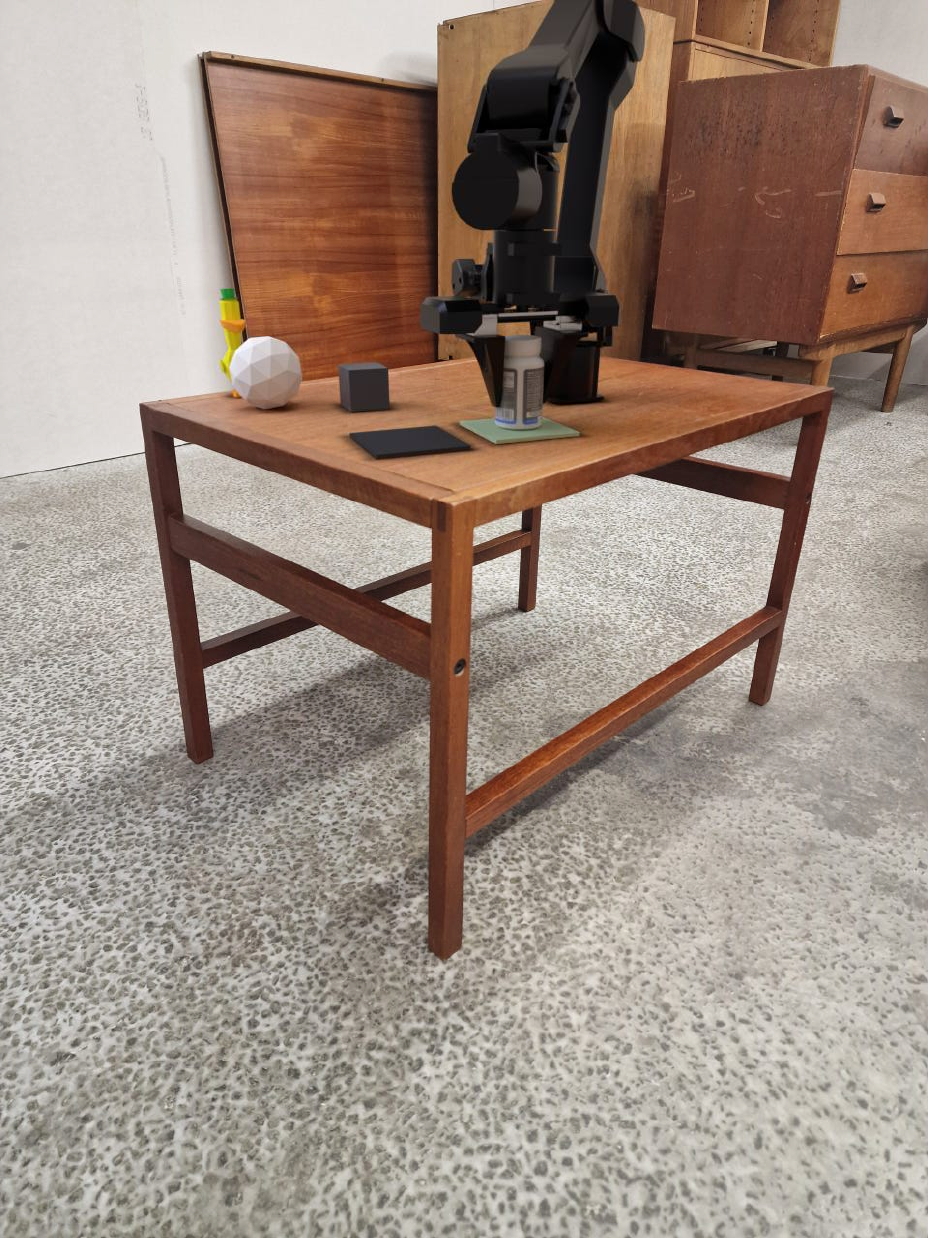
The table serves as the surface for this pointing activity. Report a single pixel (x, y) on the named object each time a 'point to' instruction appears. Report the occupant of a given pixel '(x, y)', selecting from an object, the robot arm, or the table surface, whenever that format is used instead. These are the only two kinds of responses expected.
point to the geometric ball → (265, 372)
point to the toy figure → (230, 329)
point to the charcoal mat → (408, 442)
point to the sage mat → (518, 431)
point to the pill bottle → (521, 384)
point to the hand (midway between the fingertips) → (519, 404)
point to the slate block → (364, 386)
